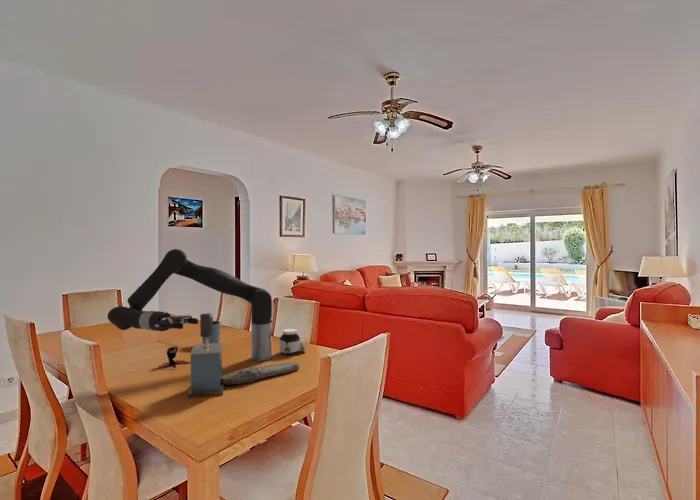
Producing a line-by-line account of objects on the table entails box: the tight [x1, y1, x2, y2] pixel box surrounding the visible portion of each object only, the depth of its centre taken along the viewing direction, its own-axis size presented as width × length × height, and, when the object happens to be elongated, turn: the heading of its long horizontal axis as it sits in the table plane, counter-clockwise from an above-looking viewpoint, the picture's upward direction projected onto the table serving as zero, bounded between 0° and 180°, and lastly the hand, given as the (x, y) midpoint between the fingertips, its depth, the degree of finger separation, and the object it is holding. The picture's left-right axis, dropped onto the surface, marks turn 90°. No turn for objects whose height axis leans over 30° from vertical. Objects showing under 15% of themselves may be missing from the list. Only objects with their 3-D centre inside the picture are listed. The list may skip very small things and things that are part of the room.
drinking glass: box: [201, 320, 221, 344], centre depth 209 cm, size 10×10×12 cm
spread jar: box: [278, 328, 307, 356], centre depth 195 cm, size 12×11×12 cm
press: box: [187, 342, 226, 399], centre depth 146 cm, size 12×12×16 cm
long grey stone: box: [221, 361, 300, 385], centre depth 161 cm, size 35×5×10 cm
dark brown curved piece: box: [157, 345, 189, 371], centre depth 177 cm, size 11×12×15 cm
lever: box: [199, 312, 214, 348], centre depth 146 cm, size 4×4×25 cm
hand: (190, 323), depth 147 cm, fingers open, 8 cm apart
